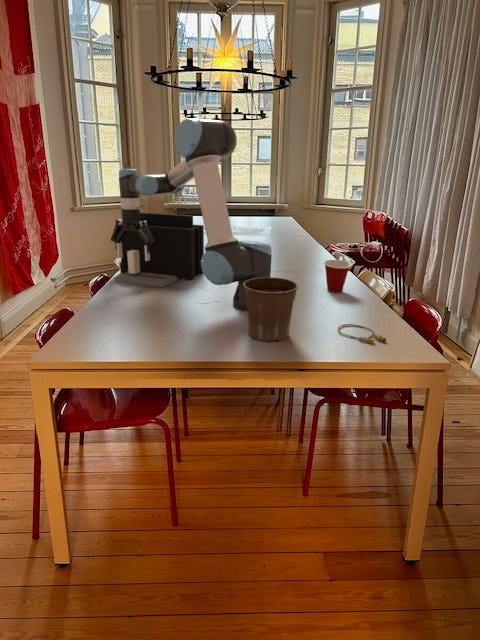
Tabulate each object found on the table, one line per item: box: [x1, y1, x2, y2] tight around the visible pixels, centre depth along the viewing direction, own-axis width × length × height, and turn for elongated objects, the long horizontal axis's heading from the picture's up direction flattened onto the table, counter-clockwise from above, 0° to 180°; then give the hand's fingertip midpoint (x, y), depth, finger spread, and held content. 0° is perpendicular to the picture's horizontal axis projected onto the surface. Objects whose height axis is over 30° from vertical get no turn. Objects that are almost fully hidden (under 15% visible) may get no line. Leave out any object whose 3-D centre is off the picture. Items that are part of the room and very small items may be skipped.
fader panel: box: [114, 272, 178, 288], centre depth 198 cm, size 12×23×2 cm, turn 70°
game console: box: [118, 211, 205, 281], centre depth 215 cm, size 35×30×27 cm
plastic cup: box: [323, 259, 352, 294], centre depth 187 cm, size 11×11×12 cm
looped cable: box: [337, 323, 387, 345], centre depth 143 cm, size 12×16×2 cm
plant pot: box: [243, 276, 299, 343], centre depth 139 cm, size 16×16×16 cm
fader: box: [127, 250, 141, 276], centre depth 198 cm, size 6×3×10 cm, turn 160°
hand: (133, 259), depth 198 cm, fingers open, 13 cm apart
